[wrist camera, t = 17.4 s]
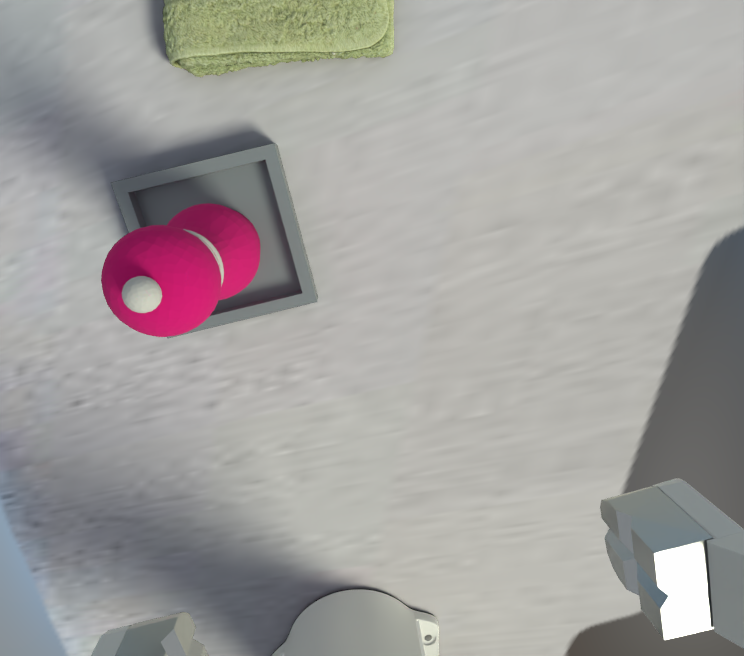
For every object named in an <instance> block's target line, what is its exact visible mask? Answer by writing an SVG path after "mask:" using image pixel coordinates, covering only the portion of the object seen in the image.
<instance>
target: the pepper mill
mask: <svg viewBox="0 0 744 656" xmlns="http://www.w3.org/2000/svg"><path fill="white" fill-rule="evenodd" d="M259 262H260V239H259V236H258V233H257V231H256V229H255V227H254V226H253V224H252V223H251V222H250V221H249V220H248V219H247V218H246V217H245V216H244V215H242V214H241V213H239V212H237V211H235V210H232V209H230V208H228V207H225V206H222V205H218V204H211V203H207V204H198V205H194V206H191V207H188V208H186V209H184V210H182V211H181V212H179V213H178V214H177V215H175V216H174V217H173V218H172V219H171V220H170V221H169V223H168V224H167V225H151V226H147V227H143V228H139V229H136V230H134V231H132V232H130V233H128V234H127V235H125V236H124V237H122V238H121V239H120V240H119V241H118V242H117V243H116V244H114V246H113V247H112V249H111V250H110V251H109V253H108V255H107V257H106V259H105V262H104V266H103V269H102V278H101V282H102V288H103V294H104V296H105V299H106V302H107V304H108V306H109V307H110V309H111V310H112V312H113V313H114V314H115V315H116V316H117V317H118V318H119V320H120V321H122V322H123V323H125V324H126V325H128V326H129V327H130V328H132V329H134V330H136V331H138V332H141V333H144V334H147V335H152V336H157V337H168V336H176V335H180V334H183V333H186V332H188V331H190V330H192V329H194V328H196V327H198V326H199V325H200V324H202V323H203V322H204V321H205V320H206V319H207V318H208V317H209V316H210V315H211V313H212V312H213V311H214V309H215V307H216V305H217V303H218V300H223V299H227V298H229V297H231V296H234V295H236V294H237V293H239V292H240V291H242V290H243V289H244V288H246V287H247V286H248V285H249V283H250V282H251V281H252V280H253V278H254V276H255V275H256V272H257V270H258V267H259Z"/></svg>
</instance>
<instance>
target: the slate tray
mask: <svg viewBox="0 0 744 656" xmlns="http://www.w3.org/2000/svg"><path fill="white" fill-rule="evenodd" d="M111 185H112V188H113V191H114V193H115V196H116V199H117V202H118V204H119V207H120V210H121V213H122V215H123V218H124V221H125V223H126V226H127V229H128V232H129V233H130V232H132V231H134V230H136V229H139V228H143V227H147V226H151V225H167V224H168V223H169V221H170V220H171V219H172V218H173V217H174V216H175V215H177V214H178V213H179V212H181V211H182V210H184V209H186V208H188V207H191V206H194V205H198V204H207V203H211V204H218V205H222V206H225V207H228V208H230V209H232V210H235V211H237V212H239V213H241V214H242V215H244V216H245V217H246V218H247V219H248V220H249V221H250V222H251V223H252V224H253V226H254V227H255V229H256V231H257V233H258V236H259V239H260V262H259V267H258V270H257V272H256V275H255V276H254V278H253V280H252V281H251V282H250V283H249V285H248V286H247V287H246V288H244V289H243V290H242V291H240V292H239V293H237V294H236V295H234V296H231V297H229V298H227V299H223V300H218V303H217V305H216V307H215V309H214V311H213V312H212V313H211V315H210V316H209V317H208V318H207V319H206V320H205V321H204V322H203V323H202V324H200V325H199V326H198V327H196V328H194V329H192V330H190V331H188V332H186V333H183V334H180V335H184V334H188V333H192V332H196V331H200V330H204V329H208V328H212V327H216V326H220V325H225V324H229V323H233V322H237V321H241V320H245V319H249V318H253V317H257V316H261V315H265V314H270V313H274V312H278V311H282V310H286V309H290V308H294V307H298V306H302V305H306V304H310V303H315V302H317V299H318V295H317V291H316V288H315V284H314V280H313V276H312V273H311V269H310V265H309V262H308V258H307V254H306V250H305V247H304V243H303V239H302V236H301V232H300V228H299V224H298V221H297V217H296V213H295V210H294V206H293V202H292V198H291V195H290V191H289V187H288V184H287V180H286V176H285V173H284V169H283V165H282V161H281V158H280V154H279V150H278V147H277V145H276V144H275V143H273V144H269V145H265V146H260V147H256V148H252V149H248V150H244V151H240V152H236V153H231V154H227V155H223V156H219V157H215V158H211V159H207V160H202V161H198V162H194V163H190V164H186V165H182V166H178V167H173V168H169V169H165V170H161V171H157V172H153V173H149V174H144V175H140V176H136V177H132V178H128V179H124V180H120V181H115V182H111ZM176 336H179V335H176ZM171 337H175V336H168V337H167V338H171Z"/></svg>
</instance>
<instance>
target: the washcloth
mask: <svg viewBox="0 0 744 656" xmlns="http://www.w3.org/2000/svg"><path fill="white" fill-rule="evenodd" d="M164 3H165V6H164V8H163V22H164V40H165V42H166V54H167V55H168V58H169V61H170V64H171V65H172V66H175V67H179V68H183V69H186V70H187V71H188V72H190V73H192V74H193V75H194V76H197V77H203V76H204V75H211V74H213V75H215V74H216V75H217V76H219V75H221V74H223V73H228V71H231V72H233V71H237V70H240V69H243V68H247V67H257V66H259V67H262V66H268V65H269V64H271V65H276V64H277V63H279V62H286V63H288V62H291V61H294V62H296V61H299V60H301V61H302V62H306V61H310V60H311V61H312V62H313V61H314V60H315V59H316V60H319V59H320V58H322V59H326V58H328V59H330V58H332V59H333V58H341V59H347V58H350V57H353V58H355V59H356V58H360V57H361V56H365V57H367V58H369V57H371V58H372V57H379V56H380V57H382V58H384V57H386V56H389V55H391V54H393V49H394V27H393V13H394V12H393V10H394V0H164Z"/></svg>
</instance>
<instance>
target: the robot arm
mask: <svg viewBox="0 0 744 656" xmlns="http://www.w3.org/2000/svg"><path fill="white" fill-rule="evenodd" d="M600 509H601V516H602V519H603V520H604V522H605V523H606V524H607V525H608V527H609V528H610V529H609V530H608V532H607V534H606V536H605V543H606V548H607V553H608V556H609V558H610V561H611V564H612V566H613V569H614V570H615V572H616V574H617V576H618V578H619V579H620V581H621V582H622V583H623V585H624V586H625V588H626V589H627V590H629V591H631V592H633V593H635V594H637V595H639V597H640V604H641V609H642V611H643V612H644V613H645V615H646V616H647V617H648V619H649V620H650V621H651V623H652V624H653V625H654V627H655V628H656V629H657V631H658V632H659V634H660V635H661V636H662V638H663V639H664V640H667V639H671V638H676V637H680V636H684V635H688V634H693V633H696V632H701V631H705V630H709V629H714V631H715V632H716V633H718V634H719V635H721V636H723V637H725V638H726V639H728V640H730V641H732V642H733V643H735V644H737V645H738V646H740V647H742V648H743V649H744V529H743V528H741V527H740V526H739V525H738V524H736V523H735V522H734V521H733V520H732V519H730V518H729V517H728V516H727V515H726V514H724V513H723V512H722V511H721V510H719V509H718V508H717V507H716V506H714V505H713V504H712V503H711V502H710V501H708V500H707V499H706V498H705V497H703V496H702V495H701V494H700V493H699V492H697V491H696V490H695V489H694V488H692V487H691V486H690V485H689V484H688V483H686V482H685V481H684V480H681V479H678V478H676V479H673V480H669V481H666V482H663V483H659V484H656V485H653V486H651V487H647V488H644V489H641V490H637V491H633V492H629V493H626V494H622V495H618V496H615V497H611V498H607V499H604V500H601V506H600ZM195 628H196V626H195V624H194V622H193V620H192V618H191V616H190V614H189V613H185V612H180V613H176V614H172V615H168V616H164V617H160V618H156V619H152V620H147V621H143V622H139V623H135V624H133V625H129V626H124V627H120V628H116V629H112V630H108V631H107V632H106V633H105V634H103V635H102V636H101V638H100V639H99V641H98V643H97V645H96V647H95V649H94V651H93V653H92V655H91V656H208V654H207V651H206V649H205V647H204V645H203V644H201V643H199V642H198V641H196V640H194V639H193V635H194V632H195ZM272 656H439V626H438V620H437V618H436V617H434V616H433V615H430V614H427V613H424V612H419V611H415V610H412V609H410V608H408V607H407V606H406V605H404V604H403V603H401V602H400V601H398V600H397V599H395V598H393V597H391V596H389V595H387V594H384V593H381V592H377V591H372V590H360V589H357V590H346V591H341V592H337V593H333V594H330V595H328V596H325V597H323V598H321V599H319V600H317V601H316V602H314V603H313V604H311V605H310V606H309V607H307V608H306V609H305V610H304V611H303V612H302V613H301V614H300V615H299V617H298V618H297V619H296V621H295V623H294V624H293V626H292V628H291V631H290V633H289V636H288V638H287V640H286V641H285V643H284V644H283V645H281V646H280V647H279V648H278V649H277V650H276V651H275V652H274V653H273V655H272Z"/></svg>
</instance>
